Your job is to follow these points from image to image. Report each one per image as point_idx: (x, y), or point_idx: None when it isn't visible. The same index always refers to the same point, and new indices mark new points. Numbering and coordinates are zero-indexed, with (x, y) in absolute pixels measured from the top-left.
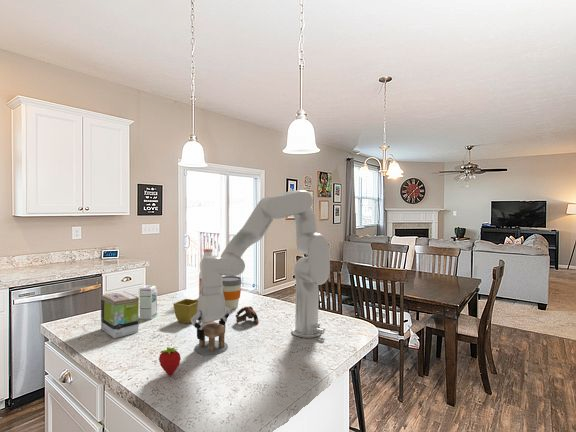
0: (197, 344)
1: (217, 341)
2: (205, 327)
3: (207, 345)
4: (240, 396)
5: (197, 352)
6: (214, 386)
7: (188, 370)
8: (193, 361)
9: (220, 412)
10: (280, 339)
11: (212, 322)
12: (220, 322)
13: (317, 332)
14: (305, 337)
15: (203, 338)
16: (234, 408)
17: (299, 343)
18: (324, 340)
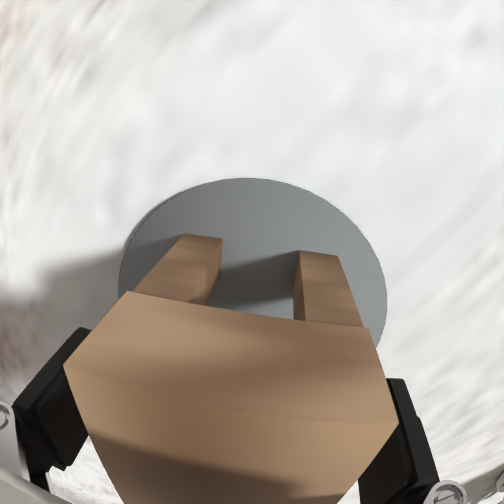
0: (204, 185)
1: (365, 290)
2: (106, 467)
3: (246, 280)
4: (105, 499)
5: (120, 294)
6: None
7: (29, 366)
8: (64, 340)
9: (56, 479)
10: (484, 459)
11: (324, 464)
12: (389, 491)
13: (501, 501)
14: (496, 483)
15: None
16: (80, 493)
17: None
18: (482, 501)
